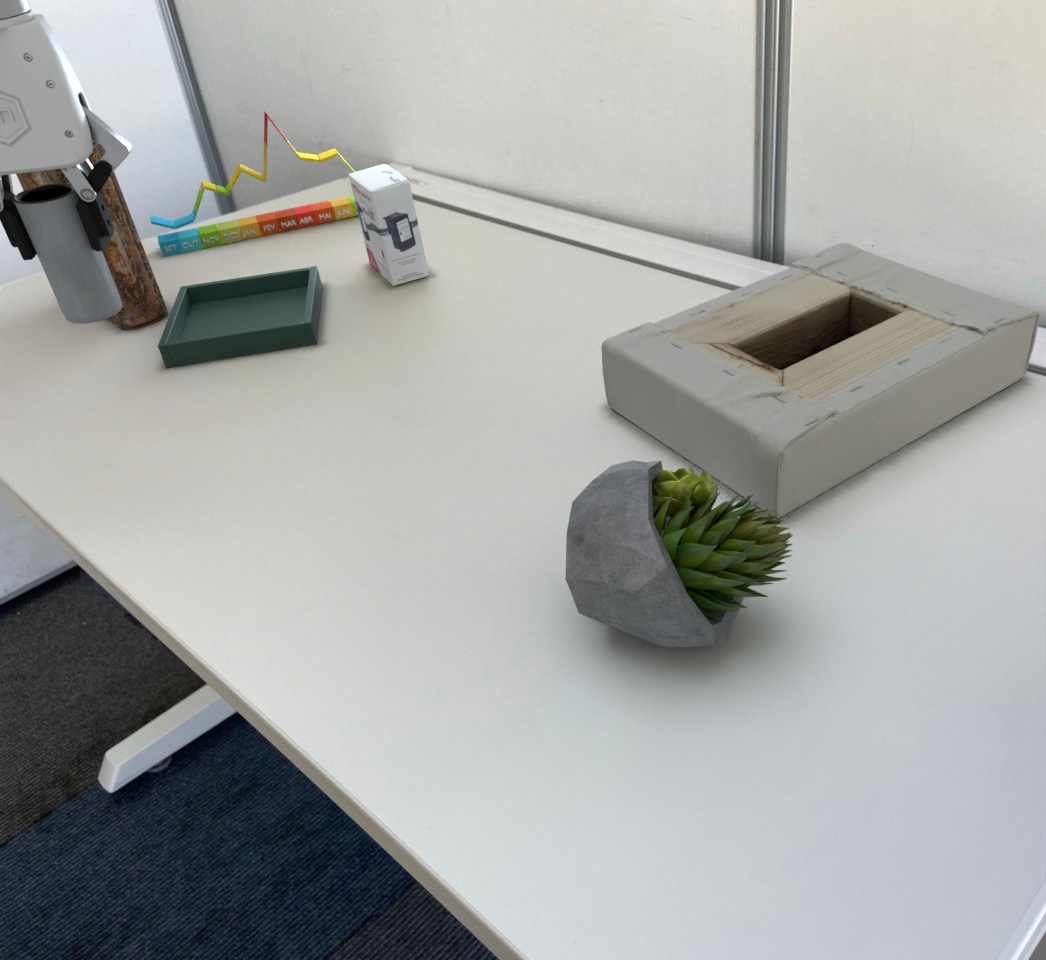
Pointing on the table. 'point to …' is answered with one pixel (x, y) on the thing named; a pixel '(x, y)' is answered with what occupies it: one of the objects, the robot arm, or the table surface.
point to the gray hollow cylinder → (68, 253)
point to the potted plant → (667, 554)
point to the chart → (253, 224)
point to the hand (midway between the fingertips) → (67, 247)
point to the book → (118, 252)
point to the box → (815, 371)
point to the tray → (242, 317)
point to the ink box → (389, 223)
